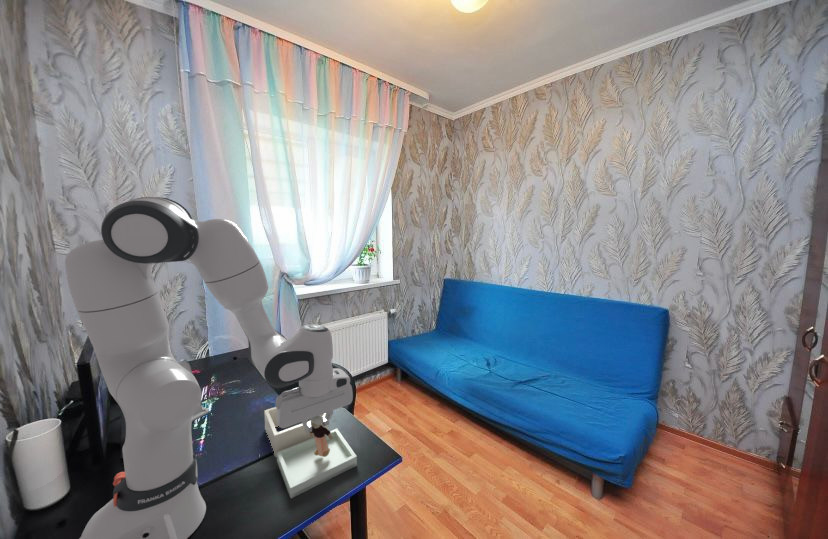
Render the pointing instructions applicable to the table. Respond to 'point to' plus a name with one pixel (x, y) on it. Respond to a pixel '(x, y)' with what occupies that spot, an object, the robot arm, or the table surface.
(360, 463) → the table surface
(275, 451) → the ceramic holder
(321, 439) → the grandmother figurine
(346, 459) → the sage tray
